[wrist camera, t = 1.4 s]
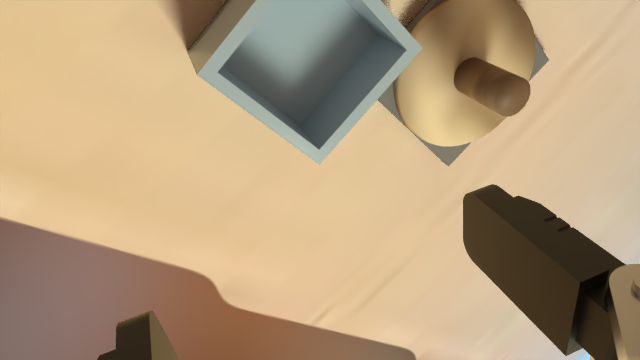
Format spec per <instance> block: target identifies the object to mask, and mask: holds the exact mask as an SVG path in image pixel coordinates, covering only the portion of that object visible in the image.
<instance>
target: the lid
mask: <svg viewBox="0 0 640 360" xmlns="http://www.w3.org/2000/svg"><path fill="white" fill-rule="evenodd" d="M410 34H411V35H412V37H413V38H414V39H415V40H416V41H417V42H418V44H419V45H420V46H421V47H422V50H421V51H420V52H419V53H418V54H417V55H416V56H415V57H414V59H413V60H412V61H411V62H410V63H409V64H408V65H407V67H406V68H405V69H404V70H403V71H402V72H401V73H400V74H399V76H398V77H397V78H396V79H395V80H394V90H393V91H394V99H395V104H396V108H397V110H398V113H399V115H400V117H401V119H402V120H403V122H404V124H405V125H406V126H407V127H408V128H409V129H410V130H411V131H412V132H414V133H415V134H416V135H417V136H419V137H420V138H421V139H423V140H424V141H426V142H428V143H431V144H434V145H438V146H449V147H451V146H459V145H463V144H467V143H470V142H472V141H475V140H477V139H479V138H481V137H483V136H484V135H486V134H487V133H489V132H490V131H492V130H493V129H494V128H495V127H497V126H498V125H499V124H500V123H501V122H502V121H503V120H504V119H505V118H506V117H508V116H512V115H514V114H516V113H518V112H519V111H520V110H521V109H522V108H523V107H524V106H525V104H526V103H527V101H528V99H529V96H530V84H529V79H530V76H531V73H532V69H533V65H534V59H535V37H534V31H533V27H532V25H531V22H530V19H529V18H528V16H527V14H526V12H525V11H524V10H523V8H522V7H521V6H520V5H519V4H518V3H516V2H515V1H514V0H444V1H442V2H441V3H439V4H438V5H436V6H435V7H434V8H432V9H431V10H430V11H429V12H428V13H427V14H426V15H425V16H424V17H423V18H422V19H421V20H420V21H419V22H418V23H417V25H416V26H415V27H414V28H413V30H412V31H411V33H410Z"/></svg>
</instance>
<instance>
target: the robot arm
mask: <svg viewBox="0 0 640 360" xmlns="http://www.w3.org/2000/svg"><path fill="white" fill-rule="evenodd" d="M463 241H464V246H465V248H466V251H467V253H468V255H469V257H470V258H471V259H472V261H473V262H474V263H475V264H476V265H477V266H478V267H479V268H480V269H481V270H482V271H483V272H484V273H485V274H486V275H487V276H488V277H489V278H490V279H491V280H492V281H493V282H494V283H495V284H496V285H497V286H498V287H499V288H500V289H501V290H502V291H503V292H504V294H505V295H506V296H507V297H508V298H509V299H510V300H511V301H512V302H513V303H514V304H515V305H516V306H517V307H518V308H519V309H520V310H521V311H522V312H523V313H524V314H525V315H526V316H527V317H528V318H529V319H530V320H531V321H532V322H533V323H534V324H535V325H536V326H537V327H538V328H539V329H540V330H541V331H542V332H543V333H544V334H545V335H546V336H547V337H548V338H549V339H550V340H551V341H552V342H553V343H554V344H555V345H556V346H557V347H558V349H559V350H560V351H561V352H562V353H563V354H564V355H565V356H567V355H569V354H571V353H573V352H575V351H578V350H580V349H582V348H584V349H585V350H586V351H587V352H588V353H589V354H590V355H591V357H590V360H640V264H629V265H626V264H624V263H622V262H621V261H620V260H618V259H617V258H615V257H614V256H613V255H611V254H610V253H608V252H607V251H606V250H604V249H603V248H601V247H600V246H599V245H597V244H596V243H594V242H593V241H592V240H590V239H589V238H587V237H586V236H585V235H583V234H582V233H580V232H579V231H578V230H576V229H575V228H571V227H570V225H569V224H568V223H566V222H565V221H564V220H562V219H561V218H557V217H556V215H555V214H554V213H552V212H551V211H550V210H548V209H547V208H545V207H544V206H543V205H541V204H540V203H537V202H534V201H532V200H529V199H526V198H523V197H521V196H516V197H514V198H513V197H512V196H511V195H509V194H508V193H507V192H505V191H504V190H503V189H501V188H500V187H499V186H497V185H493V184H492V185H489V186H486V187H483V188H481V189H478V190H475V191H473V192H470V193H467V194H466V195H465V196H464V199H463ZM97 360H178V357H177V355H176V352H175V351H174V348H173V347H172V345H171V343H170V341H169V339H168V337H167V335H166V333H165V332H164V330H163V328H162V326H161V324H160V322H159V320H158V318H157V317H156V315H155V313H154V312H153V311H149V312H146V313H144V314H141V315H138V316H135V317H133V318H130V319H128V320H125V321H122V322H119V323H118V324H117V327H116V349H115V350H113V351H110V352H108V353H105V354H103V355H100V356H99V357H98V359H97Z"/></svg>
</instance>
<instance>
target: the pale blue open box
mask: <svg viewBox="0 0 640 360" xmlns="http://www.w3.org/2000/svg"><path fill="white" fill-rule="evenodd" d="M421 50H422V47H421V46H420V45H419V44H418V42H417V41H416V40H415V39H414V38H413V37H412V35H411V34H410V33H409V32H408V31H407V30H406V29H405V27H404V26H403V25H402V24H401V23H400V22H399V21H398V19H397V18H396V17H395V16H394V15H393V14H392V12H391V11H390V10H389V9H388V8H387V7H386V6H385V4H384V3H383V2H382V1H381V0H227V1H226V3H225V4H224V5H223V7H222V8H221V9H220V10H219V12H218V13H217V14H216V16H215V17H214V18H213V19H212V21H211V22H210V23H209V24H208V26H207V27H206V28H205V30H204V31H203V32H202V33H201V35H200V36H199V37H198V39H197V40H196V41H195V42H194V44H193V45H192V46H191V47H190V49H189V50H188V51H187V52H188V55H189V57H190V59H191V62H192V64H193V67H194V69H195V71H196V74H197V75H198V76H199V77H201V78H202V79H203V80H205V81H206V82H208V83H209V84H210V85H212V86H213V87H214V88H216V89H217V90H218V91H220V92H221V93H222V94H224V95H225V96H227V97H228V98H229V99H231V100H232V101H233V102H235V103H236V104H237V105H239V106H240V107H242V108H243V109H244V110H246V111H247V112H248V113H250V114H251V115H252V116H254V117H255V118H256V119H258V120H259V121H261V122H262V123H263V124H265V125H266V126H267V127H269V128H270V129H271V130H273V131H274V132H275V133H277V134H278V135H280V136H281V137H282V138H284V139H285V140H286V141H288V142H289V143H290V144H292V145H293V146H294V147H296V148H297V149H299V150H300V151H301V152H303V153H304V154H305V155H307V156H308V157H309V158H311V159H312V160H314V161H315V162H316V163H318V164H319V165H320V164H321V163H322V162H323V160H324V159H325V158H326V157H327V156H328V155H329V154H330V152H331V151H332V150H333V149H334V148H335V147H336V146H337V145H338V143H339V142H340V141H341V140H342V139H343V138H344V137H345V136H346V134H347V133H348V132H349V131H350V130H351V129H352V128H353V126H354V125H355V124H356V123H357V122H358V121H359V120H360V119H361V117H362V116H363V115H364V114H365V113H366V112H367V111H368V109H369V108H370V107H371V106H372V105H373V104H374V103H375V102H376V100H377V99H378V98H379V97H380V96H381V95H382V94H383V93H384V91H385V90H386V89H387V88H388V87H389V86H390V85H391V83H392V82H393V81H394V80H395V79H396V78H397V77H398V76H399V74H400V73H401V72H402V71H403V70H404V69H405V68H406V67H407V65H408V64H409V63H410V62H411V61H412V60H413V59H414V57H415V56H416V55H417V54H418V53H419V52H420V51H421Z"/></svg>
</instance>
